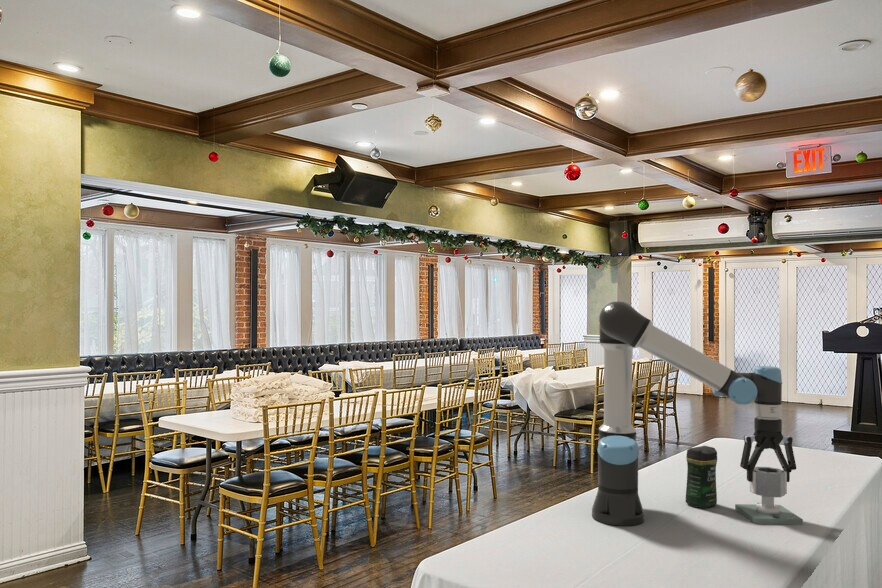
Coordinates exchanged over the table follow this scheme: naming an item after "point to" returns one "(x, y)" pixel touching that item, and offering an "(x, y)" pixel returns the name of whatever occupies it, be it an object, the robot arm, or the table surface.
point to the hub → (770, 482)
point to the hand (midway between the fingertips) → (768, 492)
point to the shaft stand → (768, 513)
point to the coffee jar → (701, 477)
